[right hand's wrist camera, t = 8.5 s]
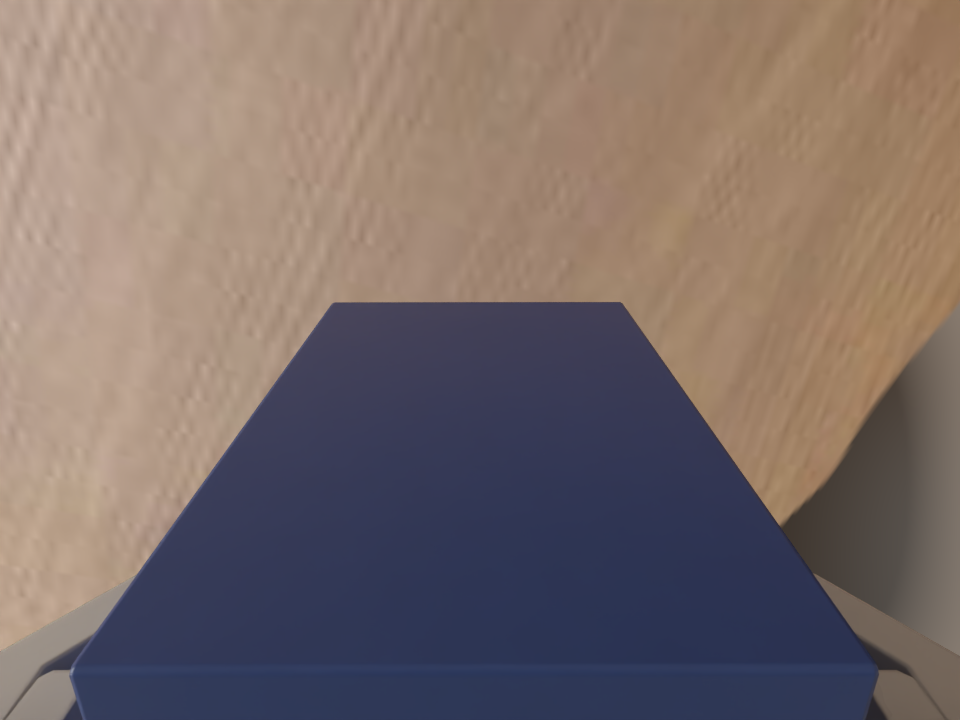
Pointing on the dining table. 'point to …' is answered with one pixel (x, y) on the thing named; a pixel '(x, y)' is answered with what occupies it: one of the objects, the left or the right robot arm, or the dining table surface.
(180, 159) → the dining table surface
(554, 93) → the dining table surface
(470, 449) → the box
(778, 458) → the dining table surface
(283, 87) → the dining table surface
